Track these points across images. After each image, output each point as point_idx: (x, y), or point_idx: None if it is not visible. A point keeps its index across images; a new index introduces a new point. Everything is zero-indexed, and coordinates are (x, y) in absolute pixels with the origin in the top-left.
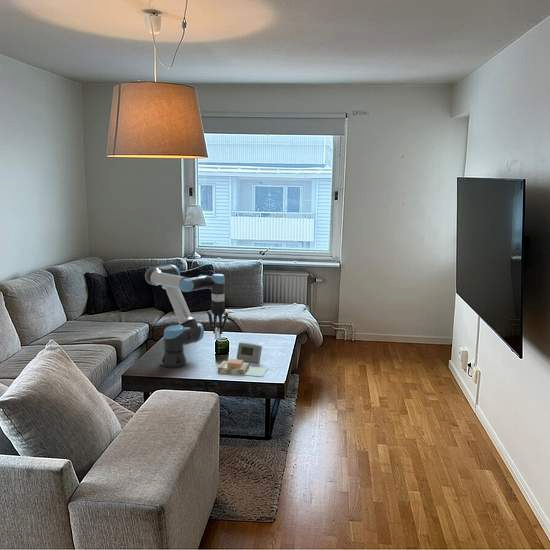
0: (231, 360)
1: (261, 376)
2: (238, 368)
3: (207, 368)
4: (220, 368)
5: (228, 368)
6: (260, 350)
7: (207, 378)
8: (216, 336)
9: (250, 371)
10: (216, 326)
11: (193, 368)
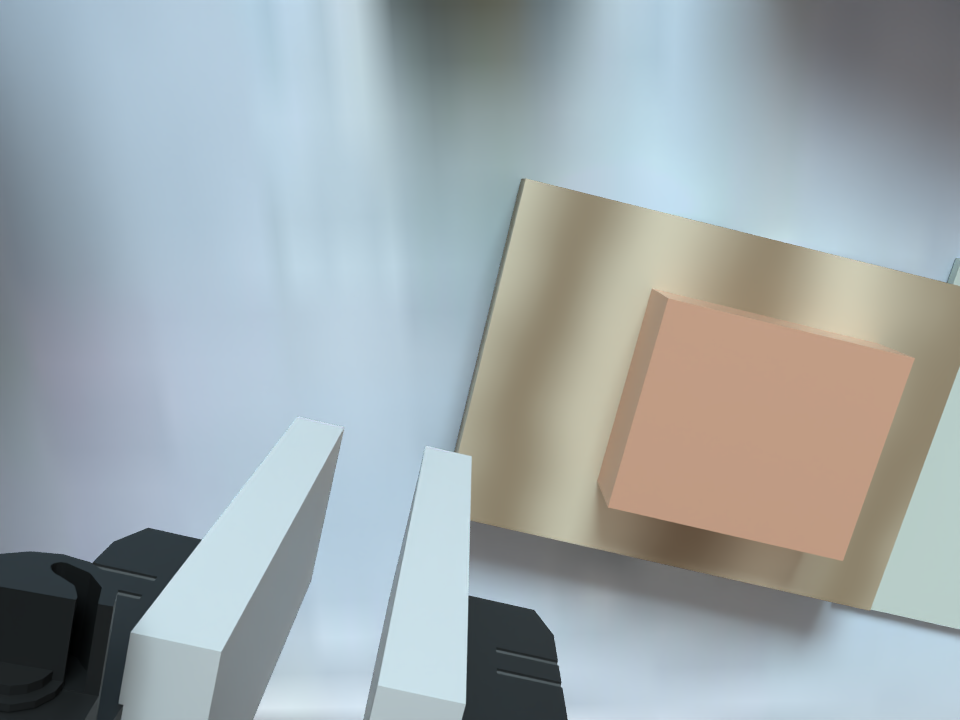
0: (685, 388)
1: None
2: (779, 558)
3: (268, 322)
4: (484, 518)
5: (615, 551)
6: None
7: (317, 713)
8: (298, 587)
9: (943, 475)
10: (104, 619)
11: (46, 326)
